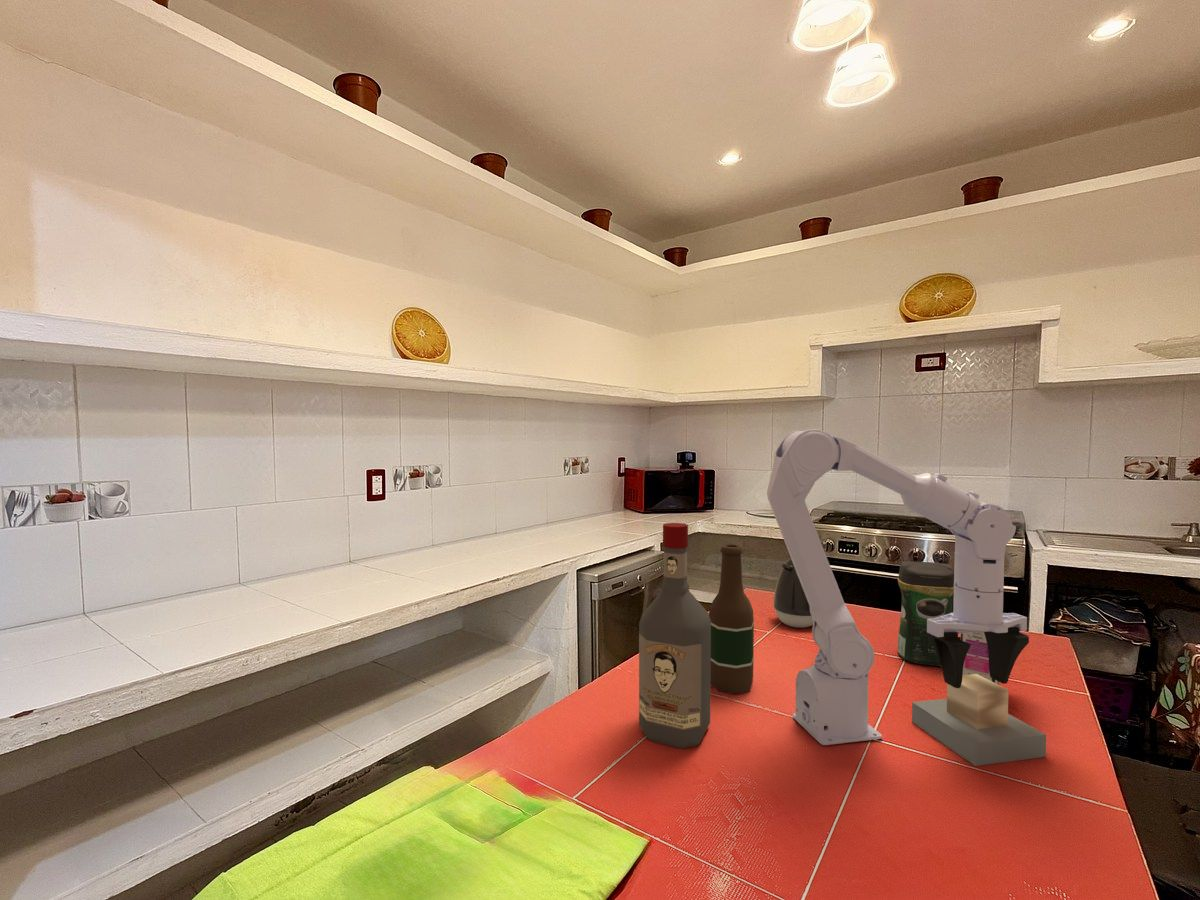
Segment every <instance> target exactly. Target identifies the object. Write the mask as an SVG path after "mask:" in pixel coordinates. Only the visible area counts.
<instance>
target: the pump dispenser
mask: <svg viewBox="0 0 1200 900" xmlns="http://www.w3.org/2000/svg"><path fill="white" fill-rule="evenodd" d="M781 567H782V568H781V571H780V573H779V575H778V579H777V581H776V584H775V590H774V594H773V595H774V596H773V602H772V603H773V608H774V609H775V614H776V616H777V617H778V619H779V620H780V622H782V623H783V624H785V625H786V626H788V627H792V628H797V629H803V628H809V627H811V626H813V619H812V616H811V613H810V606H809V603H808V601H807V598H806V595H805V593H804V590H803V588H802V585H801V583H800V580H799V577H798V575H797V572H796V570H795V567H794V565H793V562H792V559H791V557H790V558H789V559H788V560H786V562H785V563H783V564H782V565H781Z"/></svg>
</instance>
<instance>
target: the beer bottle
mask: <svg viewBox="0 0 1200 900" xmlns="http://www.w3.org/2000/svg"><path fill="white" fill-rule="evenodd" d="M743 552H744V550H743V547H742V546H741V545H738V544H735V543H734V544H732V543H729V544H726V543H725V544H723V545H722V546H721V548H720V553H721V568H720V569H721V570H720V582H719V583H720V584H719V588H718V593H717V594H716V596H715V597H714V599H712V601H711V604H710V607H709V610H708V614H709V617H710V619H711V687H712V688H714V689H715V690H717V691H718V692H720V693H727V694H731V695H732V694H733V695H738V694H743V693H747V692H748V693H749V692H750V691H751V689H752V685H753V682H754V655H755V654H754V649H755V648H754V645H755V642H754V640H755V639H754V638H755V633H754V632H755V627H754V626H755V618H754V610H753V609H754V608H753V606H752V604H751V601H750V599H749V598H748V597H747V595H746V593H745V590H744V584H743V568H742V554H743Z"/></svg>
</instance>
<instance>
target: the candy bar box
mask: <svg viewBox="0 0 1200 900" xmlns="http://www.w3.org/2000/svg"><path fill="white" fill-rule="evenodd" d="M960 638H961V640H962V641H964V642H966V643H969V644H970V645H971V646H970V648H969V650H968V652H967V654H966V657H965V661H964V665H963V675H970V674H978V675H980V676H982V677H984V678H986V679H988V680H990V681H992V682H994V683H996V684H998V685H1000V682H999V681H997V680H995V679H993V678H991V677H990V672H989V654H988V646H987V641H986V637H985V634H984V632H975V633H962V634H960Z"/></svg>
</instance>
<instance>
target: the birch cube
mask: <svg viewBox="0 0 1200 900" xmlns="http://www.w3.org/2000/svg"><path fill="white" fill-rule="evenodd" d="M946 685H947V686H946V699H947V712H949V713H951V714H952V715H954V716H956V717H957V718H959V719H961V720H962V721H964V722H966V723H967V724H969V725H971V726H972V727H974V728H975V729H985V728H992V727H1000V726H1007V725H1008V714H1009V689H1008V688H1006V687H1004V686H1002V685H1000V684H999V685H998V684H996V683H994V682H992V681H990V680H988V679H986V678H984V677H982V676H980V675H978V674H970V675H963V677H962V684H961V687H960V688H954V687H953V686H951V685H949V684H947V683H946Z"/></svg>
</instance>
